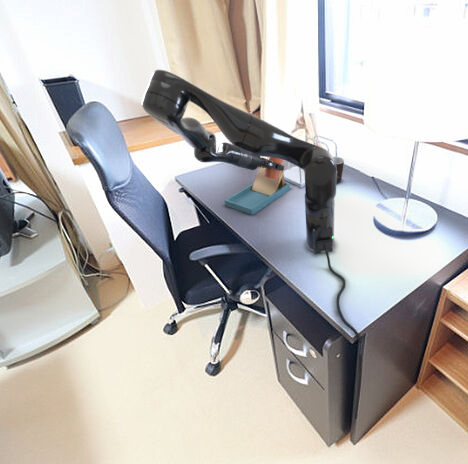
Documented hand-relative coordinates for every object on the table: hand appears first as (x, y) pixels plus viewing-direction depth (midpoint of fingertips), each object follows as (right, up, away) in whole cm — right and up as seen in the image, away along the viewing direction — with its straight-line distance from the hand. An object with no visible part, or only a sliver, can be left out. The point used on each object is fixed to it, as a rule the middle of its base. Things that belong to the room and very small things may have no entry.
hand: (277, 167), depth 133 cm
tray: (-9, -12, +4) cm, 15 cm away
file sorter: (+12, +1, +22) cm, 26 cm away
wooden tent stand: (-5, -8, +9) cm, 13 cm away
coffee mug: (+23, +1, +13) cm, 27 cm away
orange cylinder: (0, -4, +2) cm, 5 cm away
